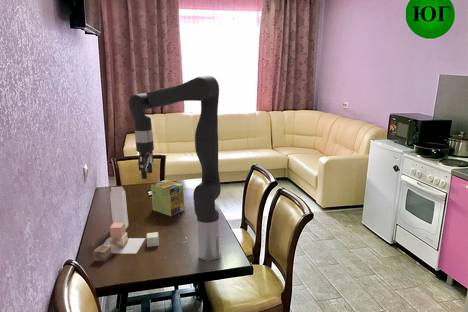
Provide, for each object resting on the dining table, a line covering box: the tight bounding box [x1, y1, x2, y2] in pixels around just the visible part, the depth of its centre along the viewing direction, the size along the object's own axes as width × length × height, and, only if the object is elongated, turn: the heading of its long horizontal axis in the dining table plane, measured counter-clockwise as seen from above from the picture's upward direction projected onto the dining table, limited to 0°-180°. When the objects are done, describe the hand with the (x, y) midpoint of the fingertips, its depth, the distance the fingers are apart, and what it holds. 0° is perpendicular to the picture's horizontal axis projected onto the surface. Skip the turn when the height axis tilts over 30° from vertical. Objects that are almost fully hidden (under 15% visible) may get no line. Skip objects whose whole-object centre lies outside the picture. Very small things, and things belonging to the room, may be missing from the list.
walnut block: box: [92, 245, 113, 263], centre depth 156 cm, size 5×5×5 cm
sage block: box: [146, 231, 160, 248], centre depth 167 cm, size 5×5×5 cm
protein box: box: [150, 179, 185, 217], centre depth 205 cm, size 10×15×16 cm
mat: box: [101, 237, 146, 254], centre depth 167 cm, size 18×14×1 cm
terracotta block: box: [109, 222, 126, 238], centre depth 165 cm, size 5×5×5 cm
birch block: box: [108, 231, 128, 249], centre depth 166 cm, size 6×6×5 cm
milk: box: [109, 186, 129, 230], centre depth 183 cm, size 6×6×22 cm
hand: (147, 175), depth 163 cm, fingers open, 8 cm apart
